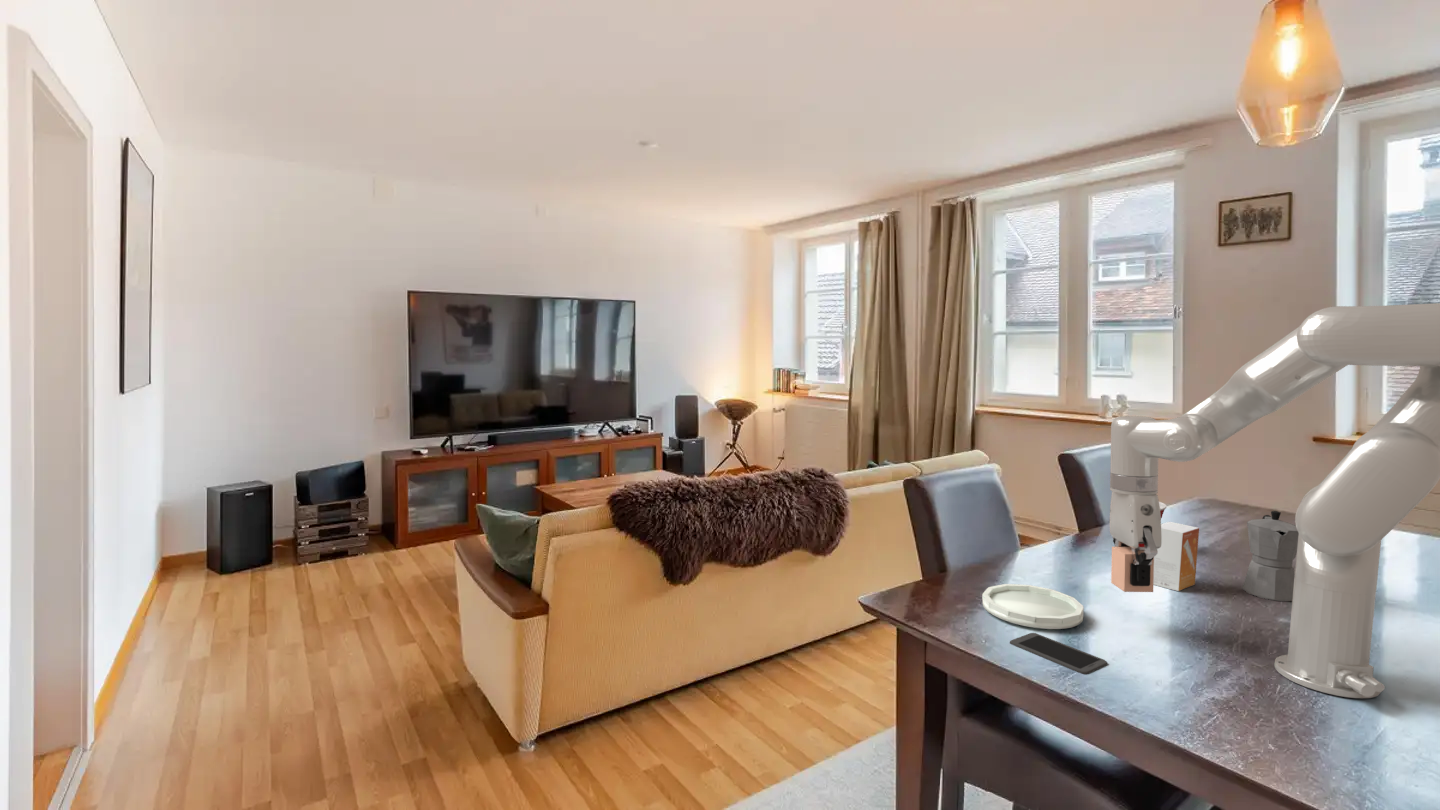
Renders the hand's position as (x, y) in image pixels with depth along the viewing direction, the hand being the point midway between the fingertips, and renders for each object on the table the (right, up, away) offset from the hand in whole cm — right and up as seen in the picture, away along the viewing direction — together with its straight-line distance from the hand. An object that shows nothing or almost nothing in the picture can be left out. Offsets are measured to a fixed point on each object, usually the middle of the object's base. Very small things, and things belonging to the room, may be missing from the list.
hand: (1132, 579), depth 126 cm
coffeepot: (+41, -8, +20) cm, 46 cm away
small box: (+24, -8, +24) cm, 35 cm away
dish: (-15, -9, +8) cm, 19 cm away
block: (0, -2, 0) cm, 2 cm away
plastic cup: (+33, -5, +51) cm, 61 cm away
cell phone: (-19, -11, -9) cm, 24 cm away
